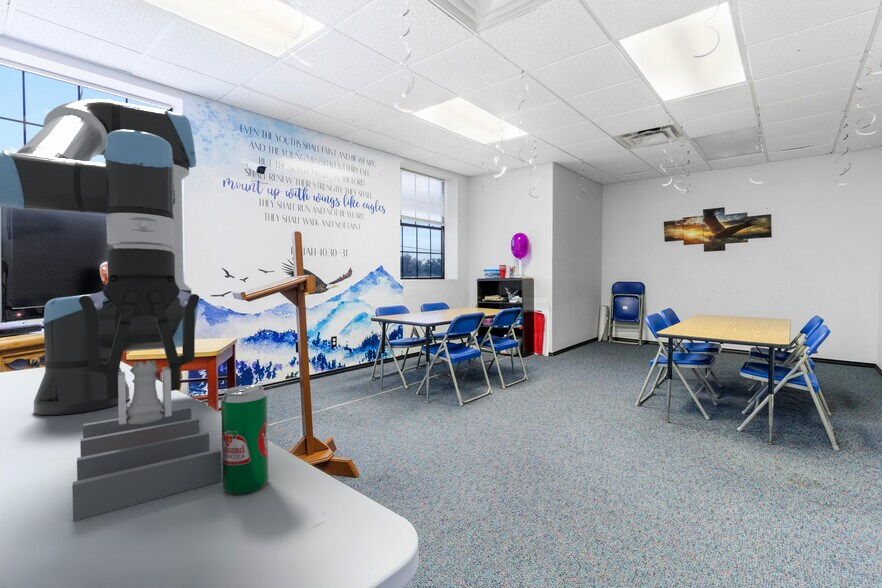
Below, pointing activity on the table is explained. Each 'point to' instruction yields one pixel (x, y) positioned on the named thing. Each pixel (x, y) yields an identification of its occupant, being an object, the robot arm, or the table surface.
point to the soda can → (244, 439)
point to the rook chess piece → (144, 395)
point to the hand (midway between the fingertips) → (145, 417)
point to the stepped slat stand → (141, 462)
